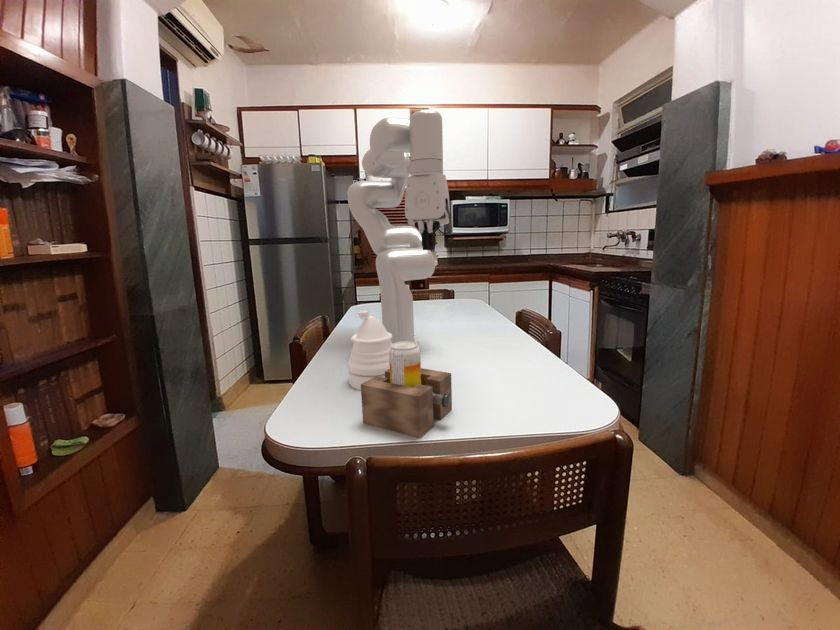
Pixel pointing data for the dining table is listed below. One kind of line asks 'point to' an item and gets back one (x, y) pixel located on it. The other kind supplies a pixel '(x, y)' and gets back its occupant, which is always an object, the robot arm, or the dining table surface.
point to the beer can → (405, 364)
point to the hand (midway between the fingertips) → (428, 249)
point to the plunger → (442, 399)
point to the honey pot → (369, 351)
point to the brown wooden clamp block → (405, 402)
